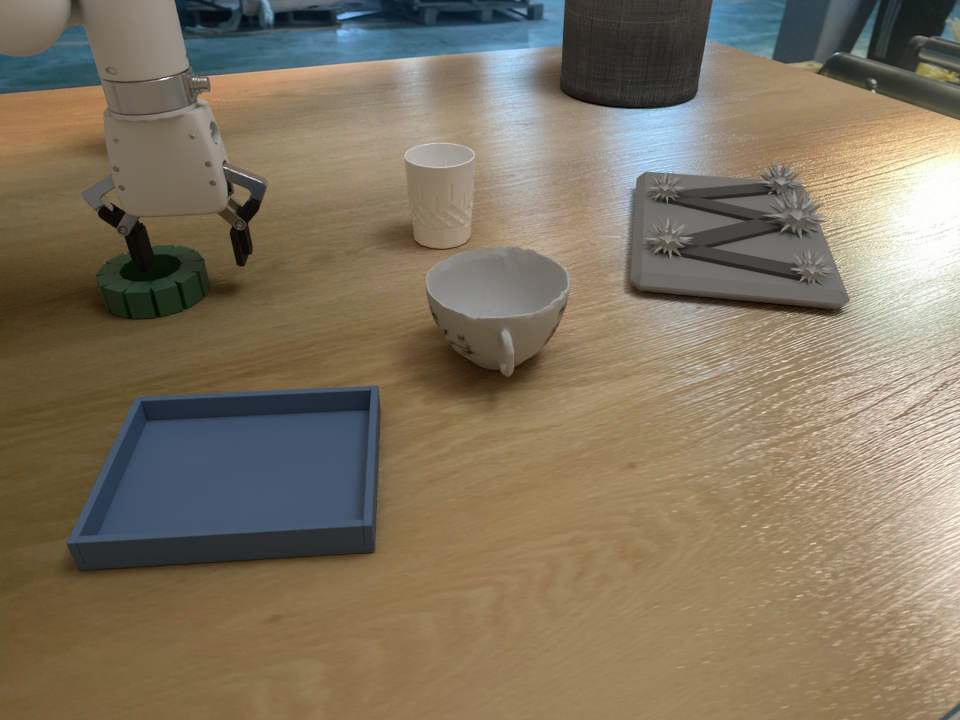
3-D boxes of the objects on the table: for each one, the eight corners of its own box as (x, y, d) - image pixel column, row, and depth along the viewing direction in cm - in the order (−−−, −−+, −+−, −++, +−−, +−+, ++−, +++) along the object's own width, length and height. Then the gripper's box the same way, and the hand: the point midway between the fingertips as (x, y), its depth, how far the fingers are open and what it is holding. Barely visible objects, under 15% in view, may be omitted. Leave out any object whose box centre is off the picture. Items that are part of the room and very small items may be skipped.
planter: (544, 73, 150) (550, -53, 137) (666, 68, 154) (683, -56, 141) (581, 112, 129) (593, -33, 117) (721, 105, 133) (746, -36, 121)
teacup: (427, 319, 75) (423, 245, 70) (552, 314, 76) (557, 241, 71) (430, 416, 63) (427, 334, 58) (580, 408, 63) (589, 328, 59)
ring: (90, 321, 75) (81, 294, 73) (122, 271, 83) (114, 246, 81) (196, 316, 75) (190, 290, 74) (217, 268, 84) (212, 243, 82)
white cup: (461, 256, 86) (460, 171, 80) (397, 245, 88) (392, 162, 82) (484, 227, 92) (484, 146, 86) (423, 218, 94) (420, 139, 88)
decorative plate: (635, 186, 103) (641, 134, 99) (802, 198, 99) (815, 145, 95) (628, 296, 79) (636, 233, 75) (848, 317, 75) (869, 252, 71)
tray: (78, 570, 49) (65, 543, 48) (143, 422, 62) (135, 396, 60) (374, 552, 51) (371, 525, 49) (380, 410, 63) (378, 385, 62)
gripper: (255, 76, 71) (286, 242, 81) (66, 84, 70) (120, 250, 80) (241, 100, 65) (276, 276, 75) (34, 109, 64) (96, 286, 74)
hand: (195, 263), depth 78 cm, fingers open, 9 cm apart
